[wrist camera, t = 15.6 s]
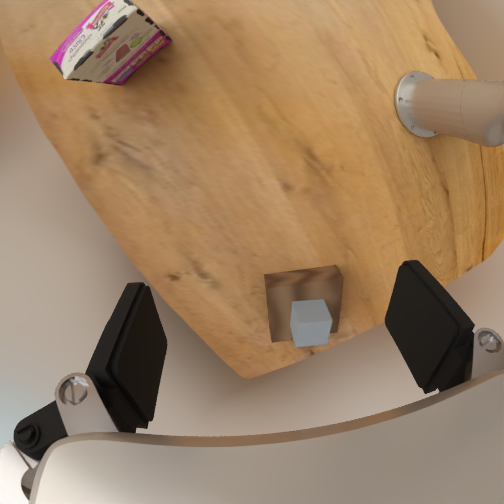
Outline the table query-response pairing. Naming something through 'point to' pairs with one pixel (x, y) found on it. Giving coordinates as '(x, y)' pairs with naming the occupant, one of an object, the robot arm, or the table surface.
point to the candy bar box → (109, 44)
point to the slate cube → (310, 322)
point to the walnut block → (301, 296)
